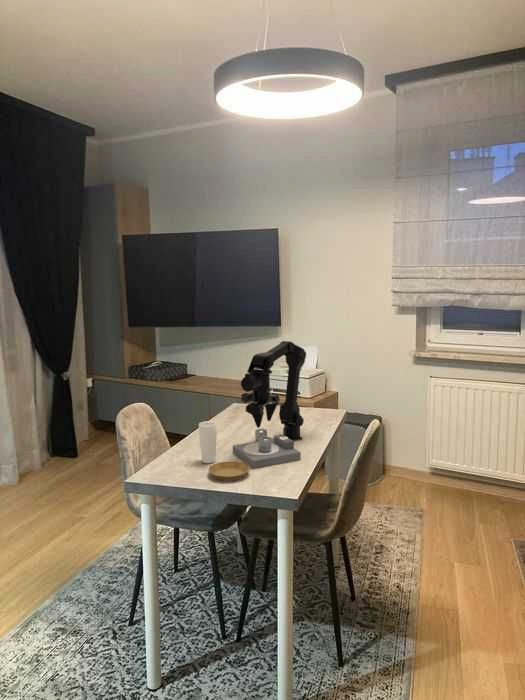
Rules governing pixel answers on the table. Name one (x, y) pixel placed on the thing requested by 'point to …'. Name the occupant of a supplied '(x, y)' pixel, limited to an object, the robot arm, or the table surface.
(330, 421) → the table surface
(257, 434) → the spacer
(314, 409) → the table surface
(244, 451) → the kitchen scale
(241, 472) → the plant saucer
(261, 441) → the cylinder
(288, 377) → the robot arm
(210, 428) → the drinking glass
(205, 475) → the table surface
